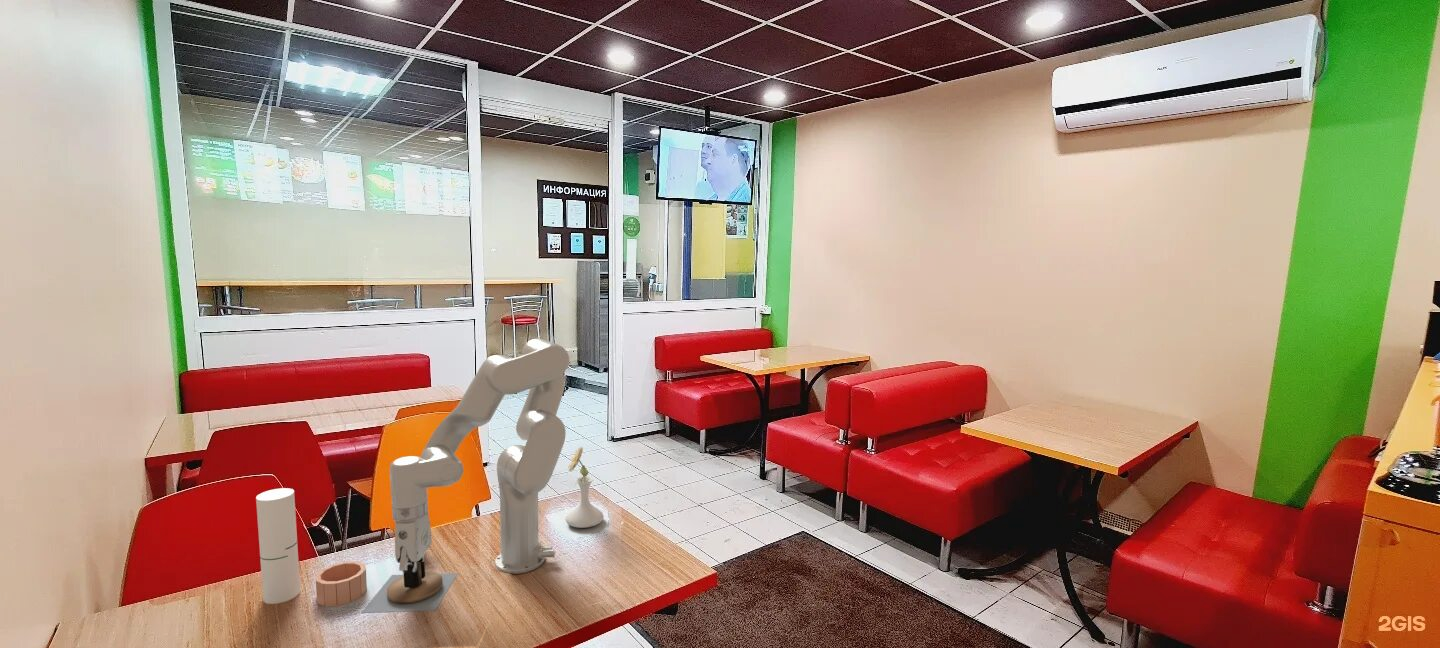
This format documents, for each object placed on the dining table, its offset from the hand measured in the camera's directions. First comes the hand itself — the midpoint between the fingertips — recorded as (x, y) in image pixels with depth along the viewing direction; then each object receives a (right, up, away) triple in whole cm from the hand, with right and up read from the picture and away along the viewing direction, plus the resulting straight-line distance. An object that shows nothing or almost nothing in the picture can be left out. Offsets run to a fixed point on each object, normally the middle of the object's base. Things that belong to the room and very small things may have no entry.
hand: (415, 581), depth 147 cm
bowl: (-16, -3, -2) cm, 17 cm away
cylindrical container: (-31, -3, -2) cm, 31 cm away
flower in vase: (+32, +1, +39) cm, 50 cm away
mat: (-1, -3, 0) cm, 3 cm away
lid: (0, -2, 0) cm, 2 cm away
